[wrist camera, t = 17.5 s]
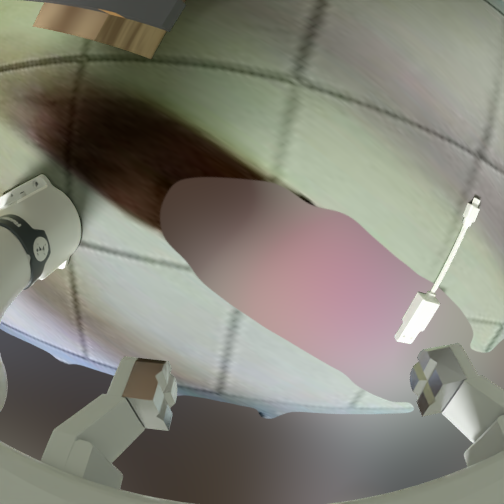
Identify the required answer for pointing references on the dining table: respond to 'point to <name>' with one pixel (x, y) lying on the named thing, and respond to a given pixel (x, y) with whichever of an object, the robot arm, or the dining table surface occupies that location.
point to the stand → (101, 28)
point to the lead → (133, 9)
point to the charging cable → (427, 303)
